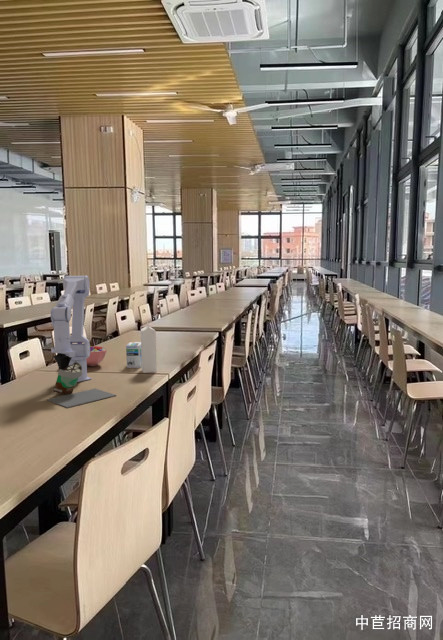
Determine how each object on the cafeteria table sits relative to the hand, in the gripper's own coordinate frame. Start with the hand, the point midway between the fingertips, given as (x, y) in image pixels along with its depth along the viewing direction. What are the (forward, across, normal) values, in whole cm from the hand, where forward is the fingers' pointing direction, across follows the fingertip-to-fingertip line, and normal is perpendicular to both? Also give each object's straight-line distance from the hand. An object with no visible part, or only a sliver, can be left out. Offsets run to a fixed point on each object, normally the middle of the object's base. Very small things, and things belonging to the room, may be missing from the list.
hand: (63, 373), depth 187 cm
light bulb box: (+8, -18, +47) cm, 51 cm away
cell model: (+8, -35, +31) cm, 47 cm away
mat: (+7, +12, 0) cm, 14 cm away
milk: (+8, -4, +44) cm, 45 cm away
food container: (+7, +2, 0) cm, 7 cm away
